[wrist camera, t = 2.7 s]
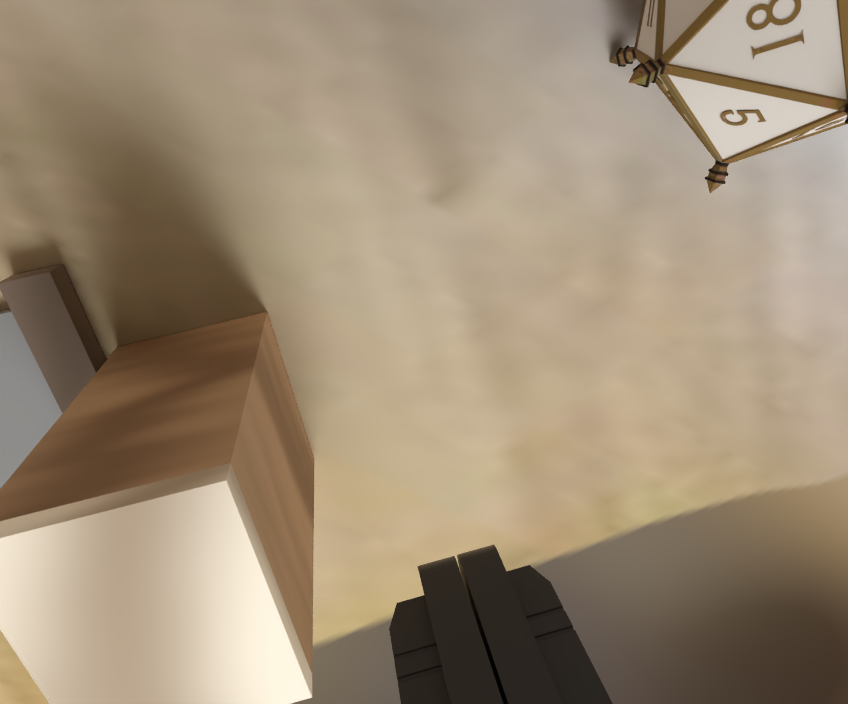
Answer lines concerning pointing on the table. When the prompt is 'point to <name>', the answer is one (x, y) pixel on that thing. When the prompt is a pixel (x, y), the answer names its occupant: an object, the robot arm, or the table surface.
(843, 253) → the table surface
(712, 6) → the game die
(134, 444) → the walnut block
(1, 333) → the slate-grey rubber mat
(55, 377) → the stop strip
